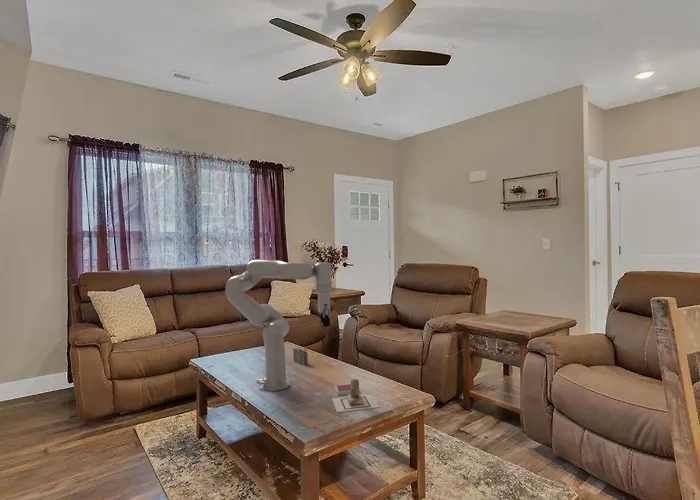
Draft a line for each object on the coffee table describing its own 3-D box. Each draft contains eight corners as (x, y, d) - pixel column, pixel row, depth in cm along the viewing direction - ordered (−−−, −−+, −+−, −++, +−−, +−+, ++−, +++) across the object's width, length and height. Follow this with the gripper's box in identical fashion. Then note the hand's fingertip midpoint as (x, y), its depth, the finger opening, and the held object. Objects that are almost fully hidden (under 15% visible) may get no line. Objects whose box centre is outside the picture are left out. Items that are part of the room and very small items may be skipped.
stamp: (349, 406, 168) (348, 383, 168) (347, 400, 174) (346, 378, 174) (363, 404, 169) (362, 382, 169) (360, 399, 175) (359, 377, 175)
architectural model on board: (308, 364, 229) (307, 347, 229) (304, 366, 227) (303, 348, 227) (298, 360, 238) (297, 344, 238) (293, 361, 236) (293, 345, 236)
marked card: (336, 412, 163) (336, 411, 163) (332, 399, 177) (332, 398, 177) (379, 407, 166) (379, 406, 166) (371, 395, 180) (371, 394, 180)
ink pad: (337, 395, 181) (337, 391, 181) (334, 388, 189) (334, 385, 189) (359, 392, 183) (358, 389, 183) (355, 386, 191) (355, 383, 191)
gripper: (314, 286, 198) (315, 321, 198) (318, 291, 181) (319, 328, 181) (329, 286, 199) (330, 320, 200) (334, 290, 182) (335, 327, 183)
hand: (325, 324), depth 191 cm, fingers open, 9 cm apart
